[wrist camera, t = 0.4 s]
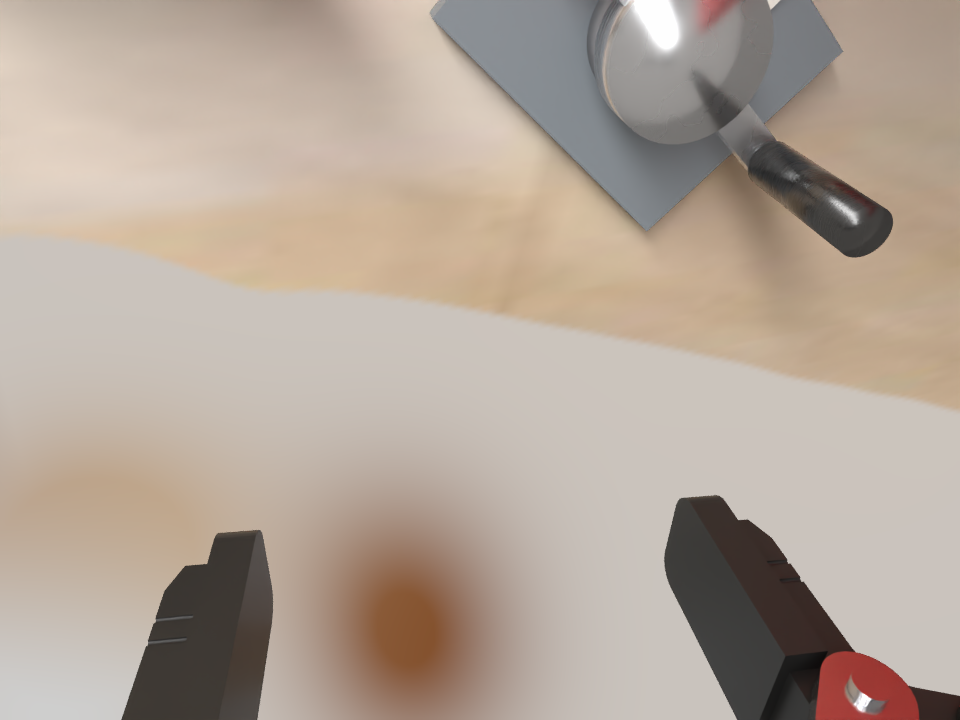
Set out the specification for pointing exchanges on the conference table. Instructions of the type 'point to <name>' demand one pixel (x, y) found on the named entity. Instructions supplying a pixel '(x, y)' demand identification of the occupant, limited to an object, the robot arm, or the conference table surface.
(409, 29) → the conference table surface
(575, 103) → the stand
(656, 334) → the conference table surface
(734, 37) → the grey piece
